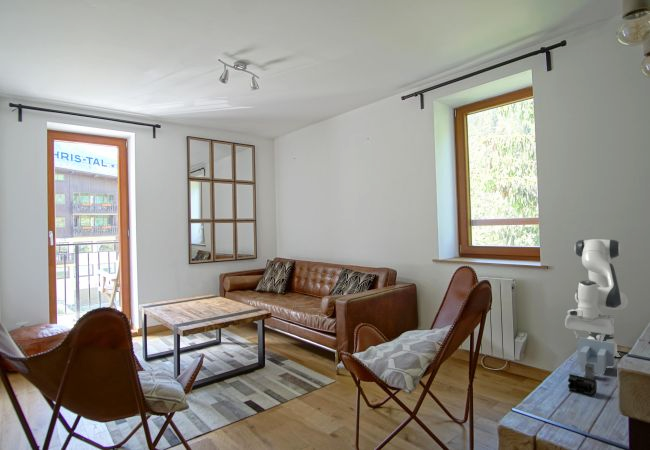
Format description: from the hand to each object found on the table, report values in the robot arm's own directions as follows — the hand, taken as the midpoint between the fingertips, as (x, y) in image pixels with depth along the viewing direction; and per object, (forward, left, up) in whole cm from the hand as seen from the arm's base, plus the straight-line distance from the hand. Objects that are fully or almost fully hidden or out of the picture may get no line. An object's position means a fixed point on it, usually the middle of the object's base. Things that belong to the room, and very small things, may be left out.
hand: (589, 340), depth 184 cm
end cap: (+25, 0, -19) cm, 31 cm away
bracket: (0, 0, -19) cm, 19 cm away
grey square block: (-16, 0, -18) cm, 24 cm away
